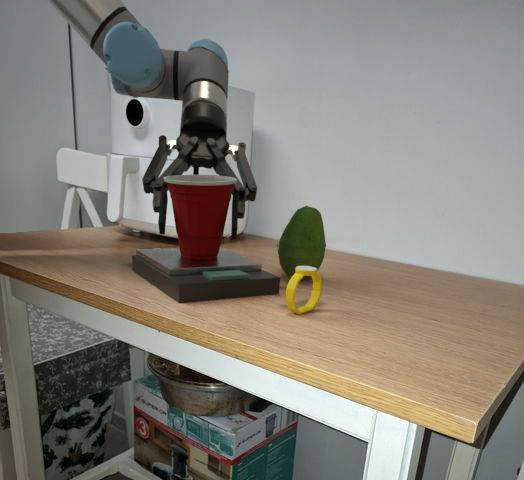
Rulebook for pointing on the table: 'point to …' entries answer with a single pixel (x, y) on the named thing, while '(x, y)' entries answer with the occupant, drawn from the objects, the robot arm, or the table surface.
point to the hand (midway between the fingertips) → (198, 231)
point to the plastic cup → (200, 212)
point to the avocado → (302, 241)
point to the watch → (293, 283)
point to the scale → (203, 275)
